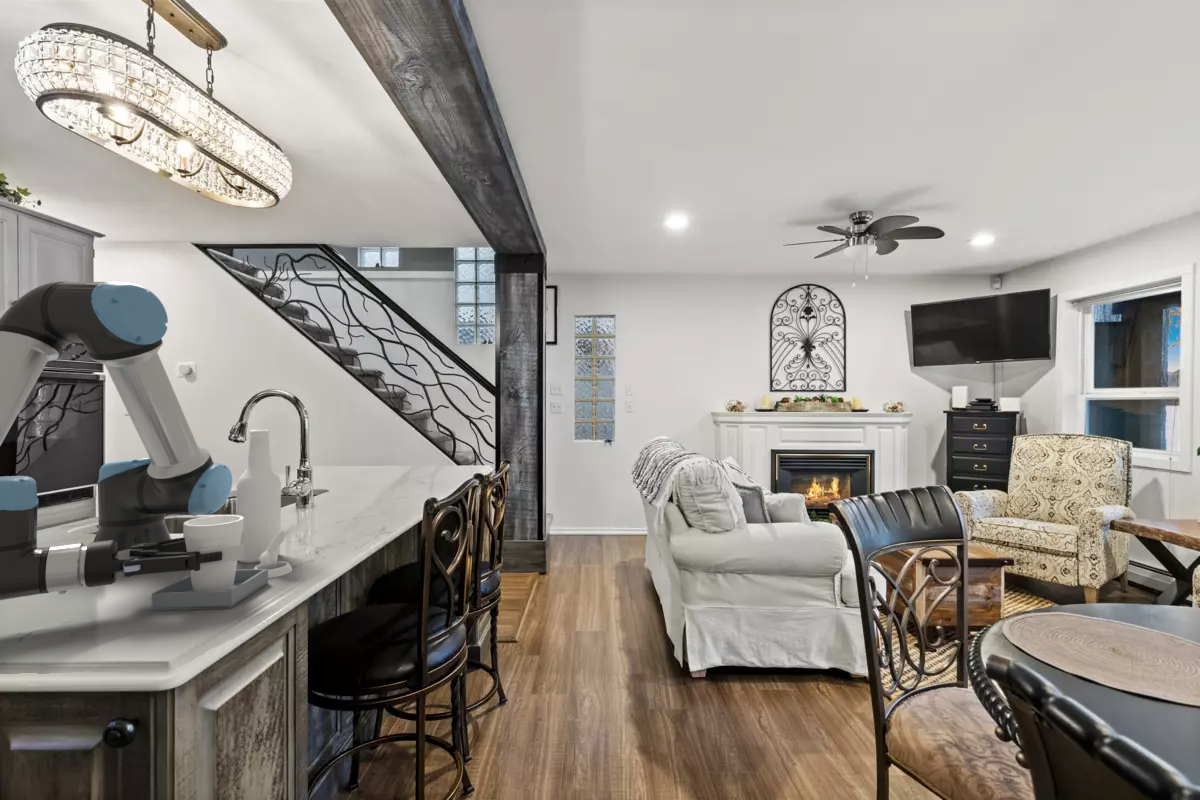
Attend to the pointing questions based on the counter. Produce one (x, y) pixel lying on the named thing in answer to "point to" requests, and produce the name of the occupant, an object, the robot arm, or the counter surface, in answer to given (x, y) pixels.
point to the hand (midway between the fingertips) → (241, 545)
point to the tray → (209, 593)
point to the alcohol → (259, 499)
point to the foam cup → (212, 536)
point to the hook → (274, 557)
